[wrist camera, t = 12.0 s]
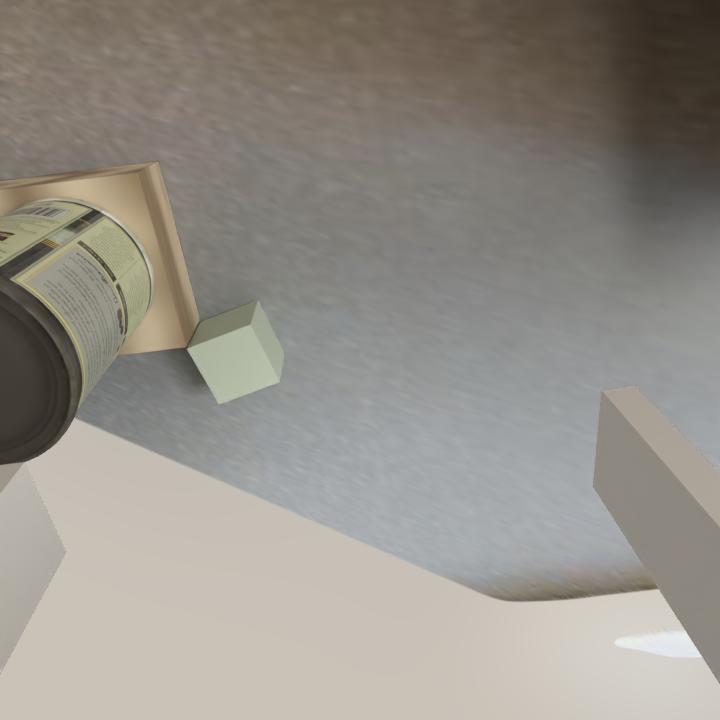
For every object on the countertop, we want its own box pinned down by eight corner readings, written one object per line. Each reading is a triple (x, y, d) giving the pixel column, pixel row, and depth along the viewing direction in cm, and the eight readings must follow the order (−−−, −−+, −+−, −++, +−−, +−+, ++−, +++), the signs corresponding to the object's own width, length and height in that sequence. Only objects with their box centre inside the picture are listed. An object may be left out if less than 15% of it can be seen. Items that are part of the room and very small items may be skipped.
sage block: (258, 299, 45) (250, 324, 40) (284, 352, 47) (280, 382, 43) (200, 321, 46) (186, 348, 41) (229, 373, 48) (219, 404, 43)
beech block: (158, 161, 40) (137, 172, 35) (199, 319, 45) (186, 347, 41) (-13, 182, 40) (-56, 196, 35) (48, 338, 45) (18, 368, 41)
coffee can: (67, 368, 41) (-48, 500, 29) (-41, 243, 37) (-233, 333, 24) (188, 305, 39) (122, 415, 27) (90, 165, 35) (-43, 218, 22)
